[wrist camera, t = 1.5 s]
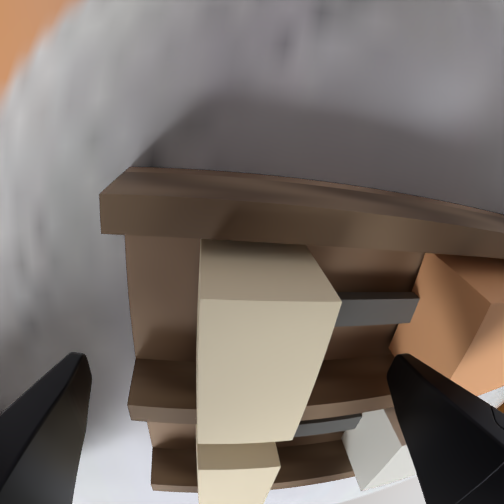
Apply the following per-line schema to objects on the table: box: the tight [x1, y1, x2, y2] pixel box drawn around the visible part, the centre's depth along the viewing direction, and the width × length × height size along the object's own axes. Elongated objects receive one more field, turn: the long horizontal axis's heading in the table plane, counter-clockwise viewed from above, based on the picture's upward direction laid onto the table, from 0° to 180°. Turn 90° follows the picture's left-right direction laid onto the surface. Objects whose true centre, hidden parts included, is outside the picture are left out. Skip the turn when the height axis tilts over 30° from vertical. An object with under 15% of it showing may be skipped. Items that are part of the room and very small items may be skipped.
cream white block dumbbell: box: [196, 407, 417, 504], centre depth 14 cm, size 14×6×4 cm, turn 83°
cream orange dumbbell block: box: [196, 239, 504, 444], centre depth 10 cm, size 14×6×4 cm, turn 83°
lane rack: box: [99, 167, 504, 493], centre depth 13 cm, size 18×16×3 cm
